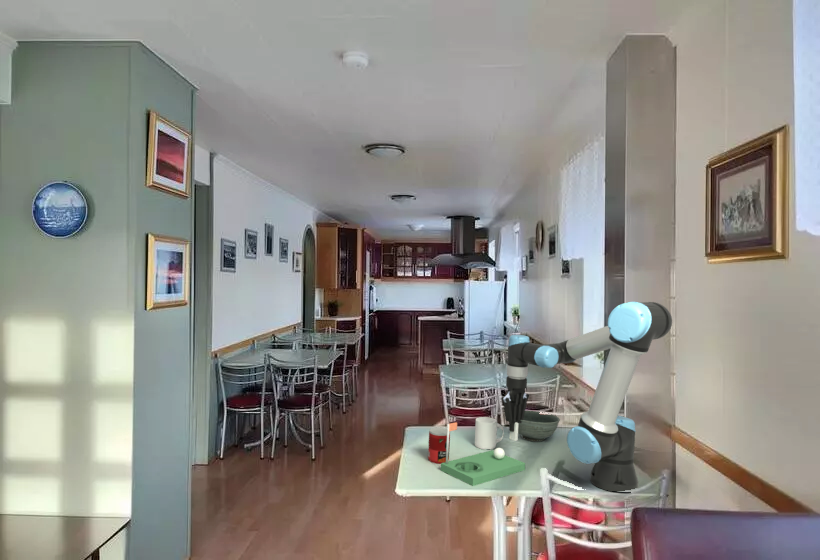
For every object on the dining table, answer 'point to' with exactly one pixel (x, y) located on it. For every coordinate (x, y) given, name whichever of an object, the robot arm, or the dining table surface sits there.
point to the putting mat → (479, 465)
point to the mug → (487, 433)
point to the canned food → (438, 445)
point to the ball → (499, 453)
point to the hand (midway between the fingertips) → (513, 439)
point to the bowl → (537, 425)
